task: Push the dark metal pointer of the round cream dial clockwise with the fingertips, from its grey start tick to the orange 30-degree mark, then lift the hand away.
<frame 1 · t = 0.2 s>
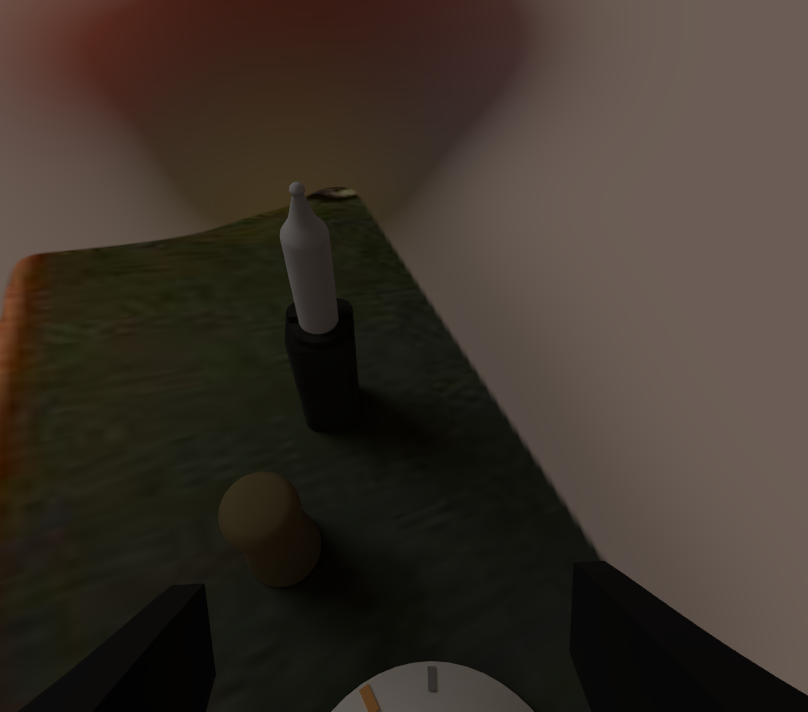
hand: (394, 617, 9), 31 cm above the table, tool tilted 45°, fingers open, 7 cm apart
cork: (284, 547, 39), on the table
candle: (333, 407, 47), on the table
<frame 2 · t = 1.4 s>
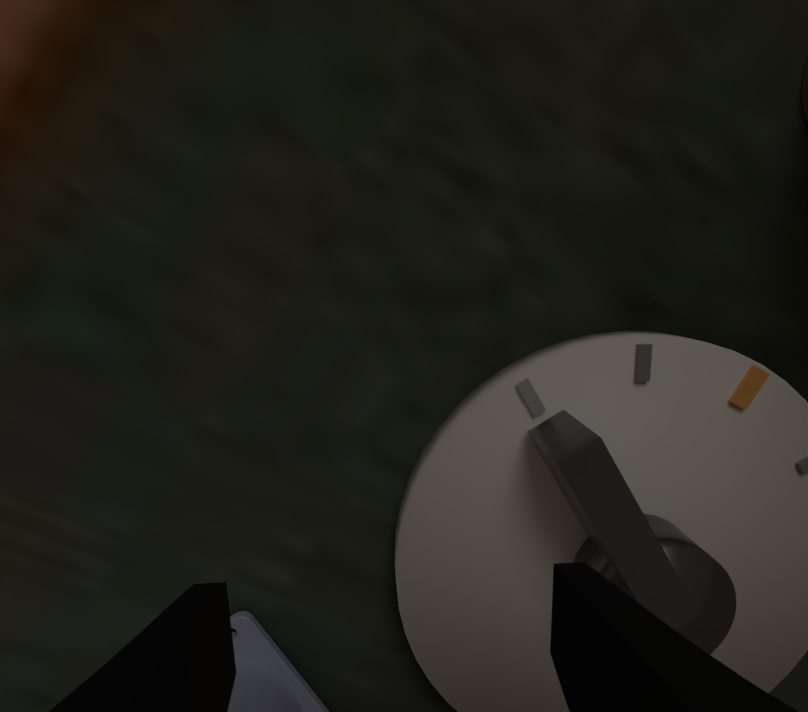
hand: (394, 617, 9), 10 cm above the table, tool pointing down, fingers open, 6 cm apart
dial plate: (610, 545, 21), on the table
dial pointer: (624, 545, 17), point 3 cm above the table, hinge at 0.0°
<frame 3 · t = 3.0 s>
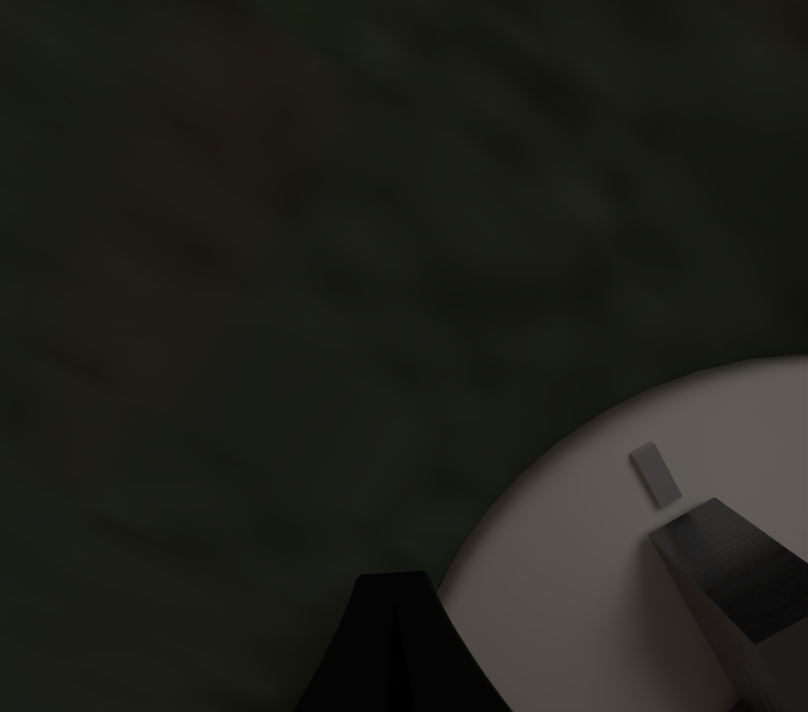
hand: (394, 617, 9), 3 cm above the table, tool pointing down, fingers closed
dial plate: (750, 686, 14), on the table
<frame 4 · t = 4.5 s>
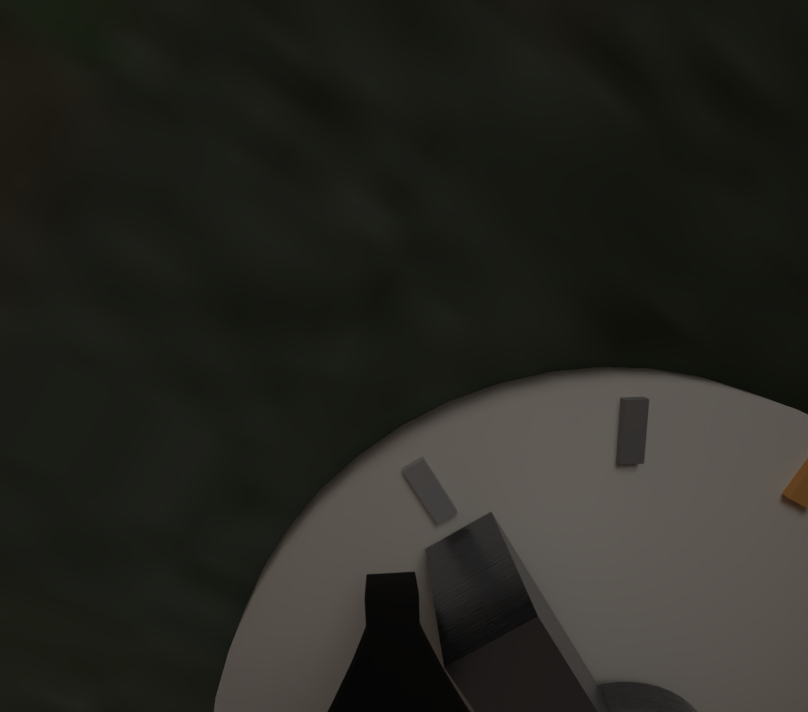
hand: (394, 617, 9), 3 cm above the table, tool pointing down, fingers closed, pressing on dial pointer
dial plate: (580, 702, 13), on the table
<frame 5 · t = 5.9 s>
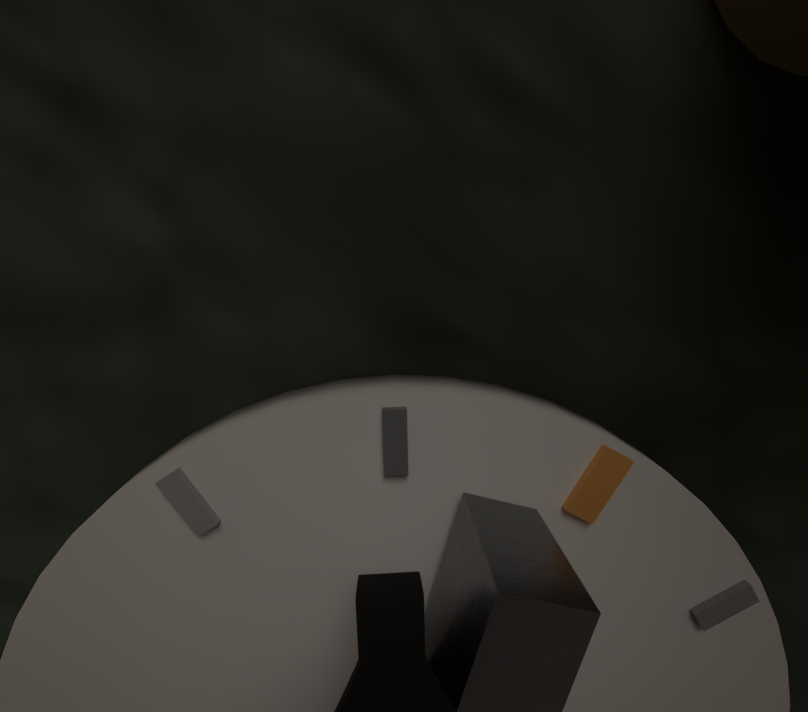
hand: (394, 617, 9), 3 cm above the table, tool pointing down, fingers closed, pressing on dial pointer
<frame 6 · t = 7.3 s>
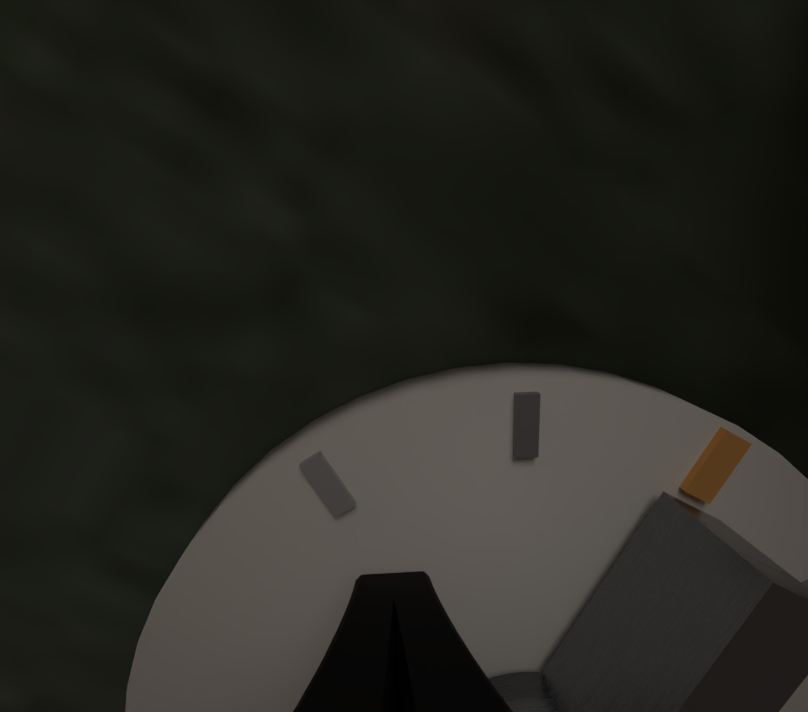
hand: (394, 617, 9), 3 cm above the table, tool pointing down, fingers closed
dial plate: (501, 692, 14), on the table
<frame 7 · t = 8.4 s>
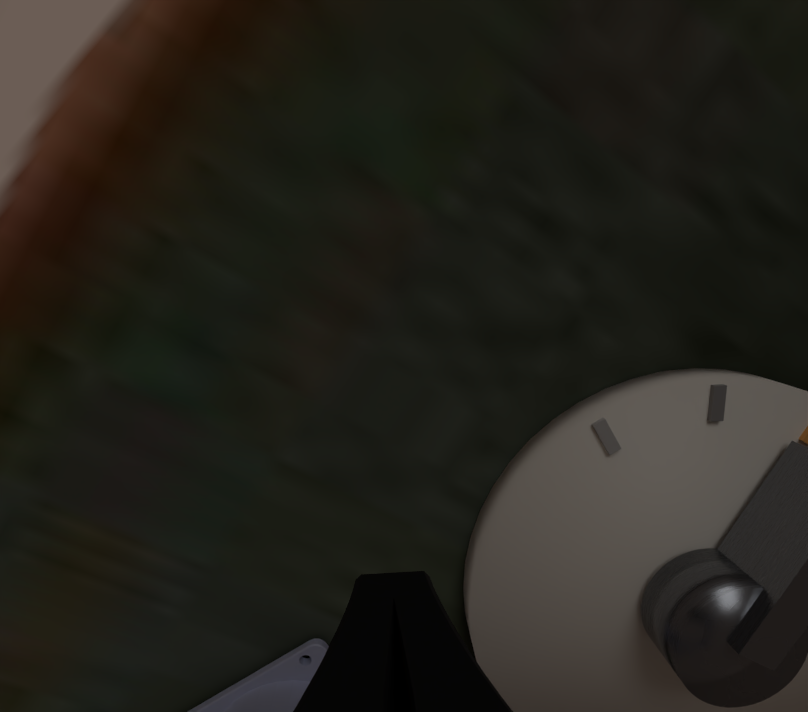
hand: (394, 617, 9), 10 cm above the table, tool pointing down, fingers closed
dial plate: (673, 575, 22), on the table
dial pointer: (764, 577, 18), point 3 cm above the table, hinge at -59.6°
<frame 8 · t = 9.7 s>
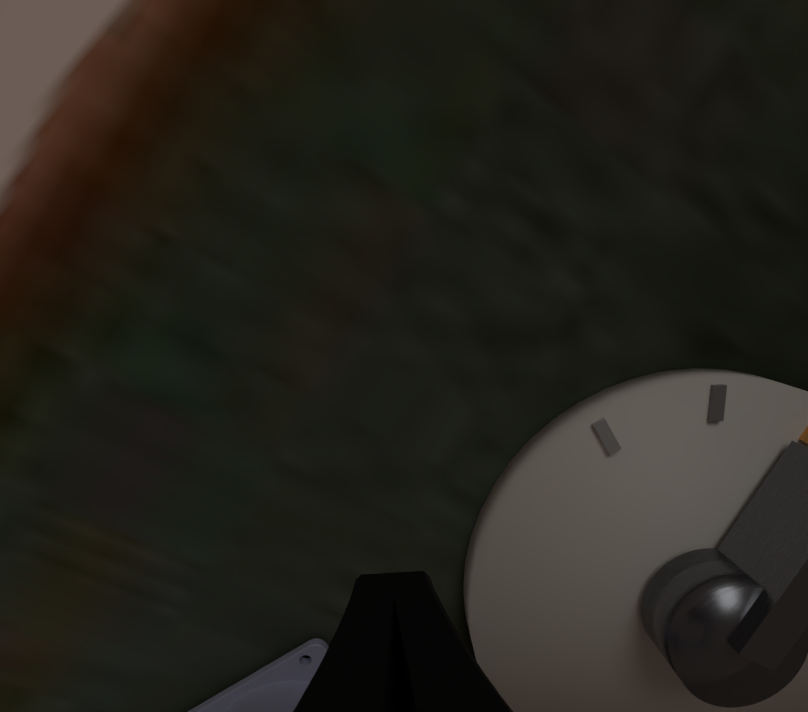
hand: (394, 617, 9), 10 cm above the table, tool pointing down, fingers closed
dial plate: (673, 575, 22), on the table
dial pointer: (764, 577, 18), point 3 cm above the table, hinge at -59.6°
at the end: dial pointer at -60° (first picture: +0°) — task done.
